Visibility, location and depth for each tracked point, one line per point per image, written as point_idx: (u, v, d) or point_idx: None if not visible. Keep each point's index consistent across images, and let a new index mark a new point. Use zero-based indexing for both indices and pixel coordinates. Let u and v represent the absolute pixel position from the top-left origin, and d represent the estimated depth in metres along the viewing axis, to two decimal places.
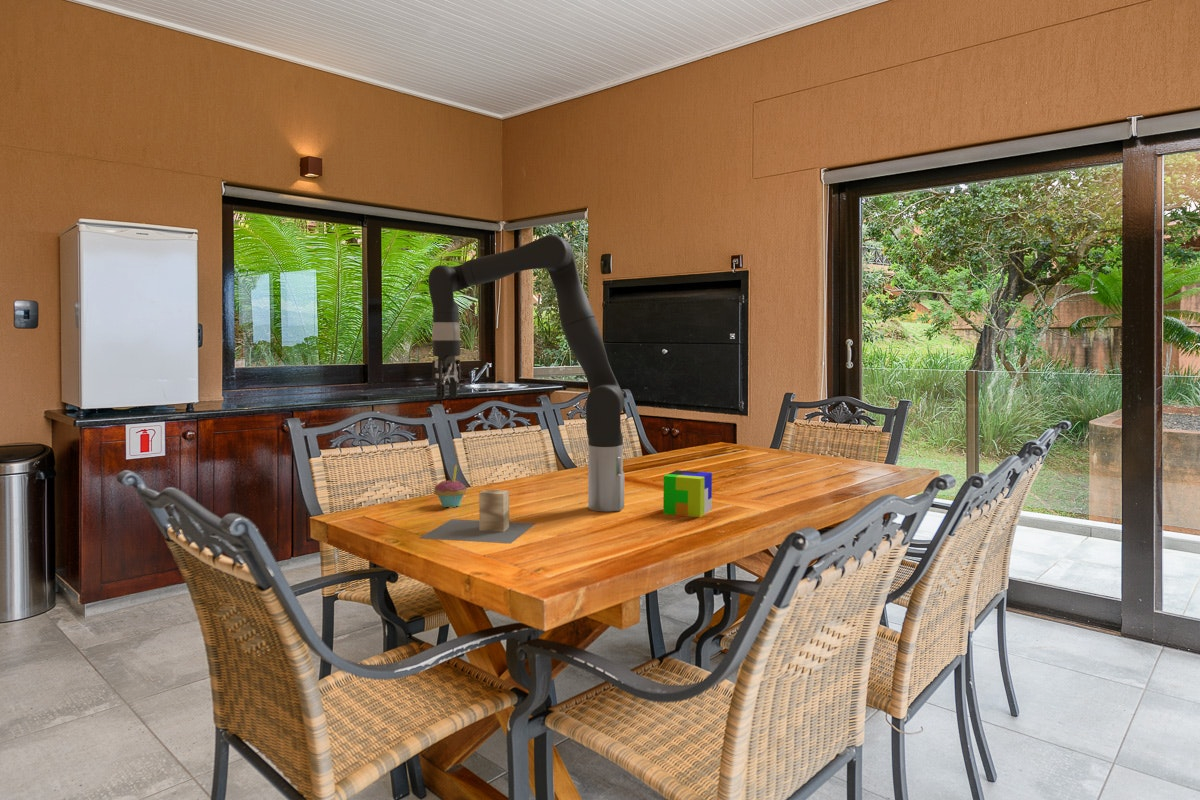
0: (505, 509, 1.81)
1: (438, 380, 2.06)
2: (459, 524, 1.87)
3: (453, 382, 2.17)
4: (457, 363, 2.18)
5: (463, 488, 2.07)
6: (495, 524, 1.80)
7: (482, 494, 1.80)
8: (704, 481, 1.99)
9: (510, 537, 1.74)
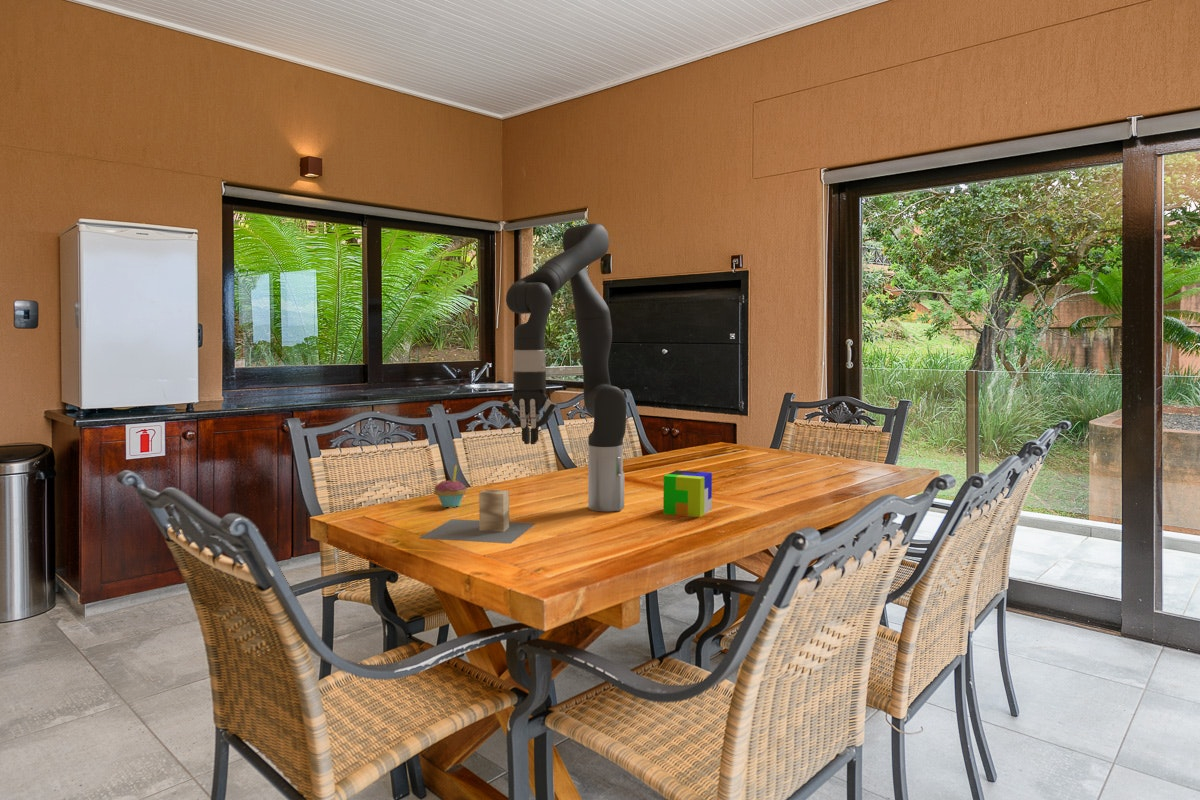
0: (505, 509, 1.81)
1: (545, 422, 1.78)
2: (459, 524, 1.87)
3: (527, 426, 1.79)
4: None
5: (463, 488, 2.07)
6: (495, 524, 1.80)
7: (482, 494, 1.80)
8: (704, 481, 1.99)
9: (510, 537, 1.74)
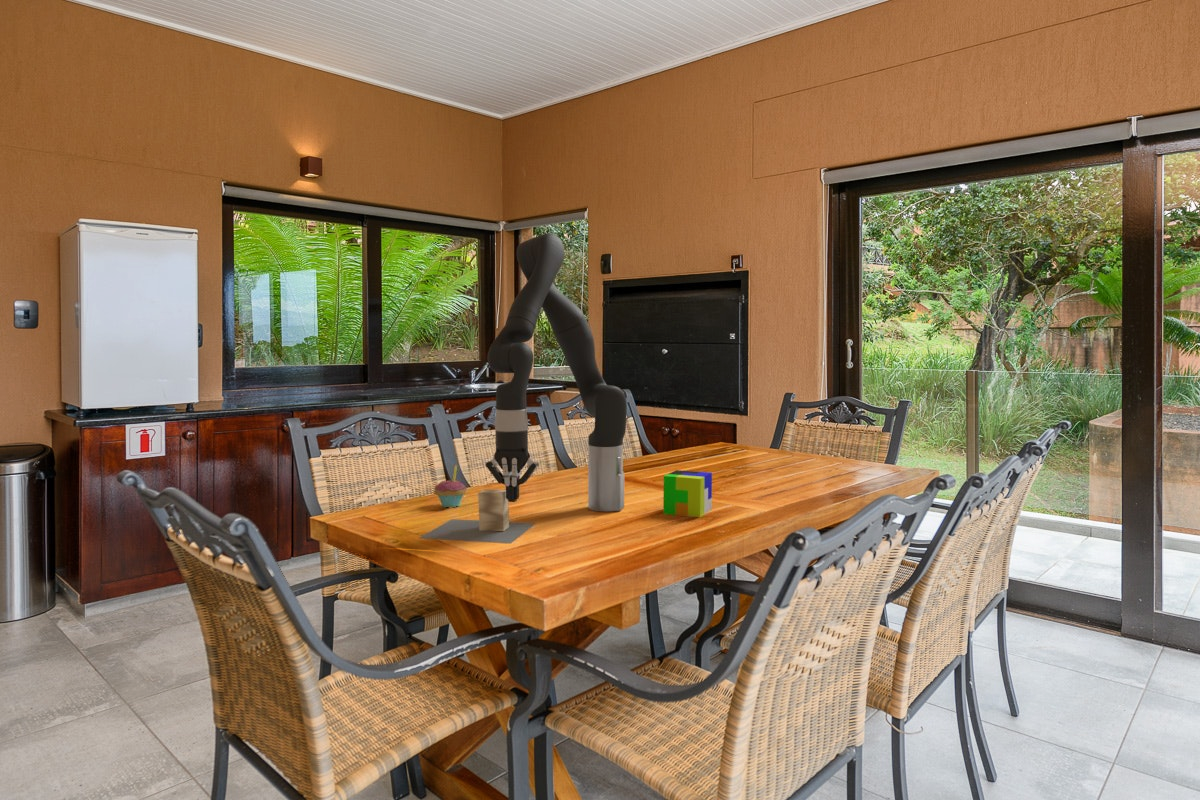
0: (504, 508, 1.81)
1: (526, 480, 1.80)
2: (459, 524, 1.87)
3: None
4: None
5: (463, 488, 2.07)
6: (495, 524, 1.80)
7: (481, 494, 1.80)
8: (704, 481, 1.99)
9: (510, 537, 1.74)
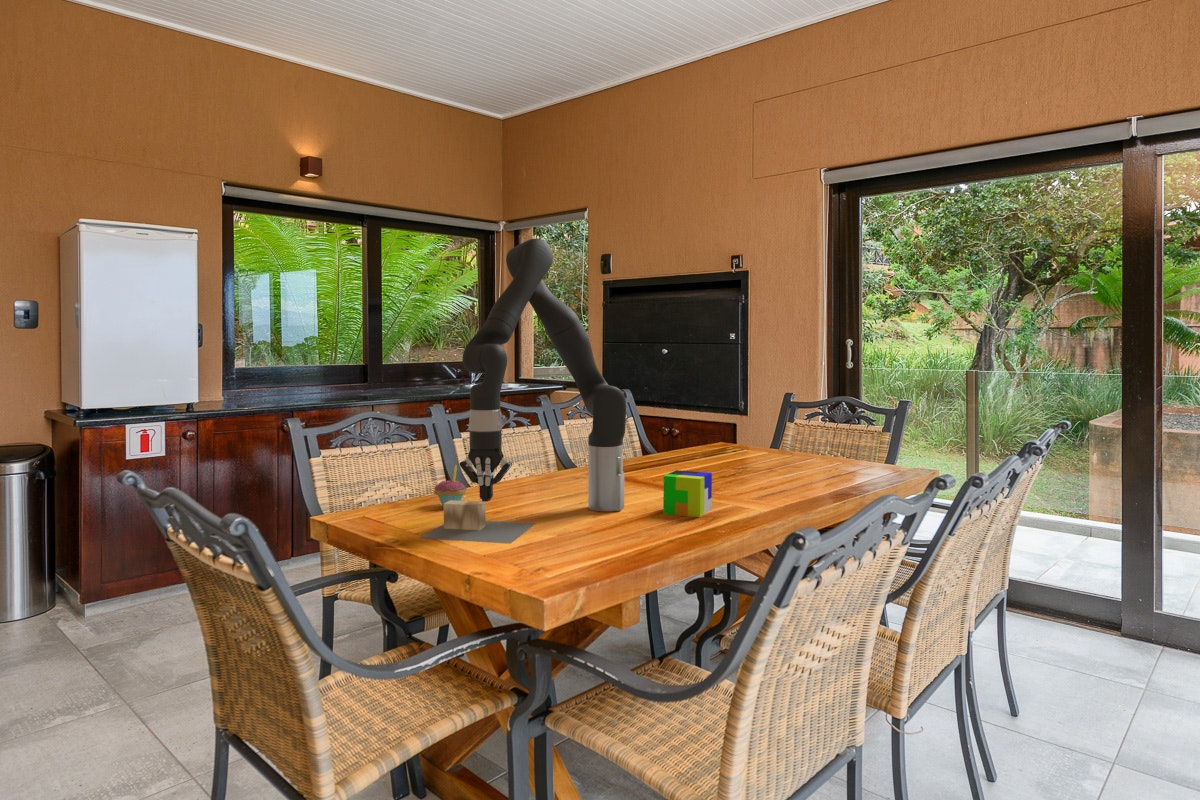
0: (461, 503, 1.83)
1: (499, 479, 1.82)
2: None
3: None
4: None
5: (463, 488, 2.07)
6: (472, 513, 1.81)
7: (445, 525, 1.83)
8: (704, 481, 1.99)
9: (510, 537, 1.74)
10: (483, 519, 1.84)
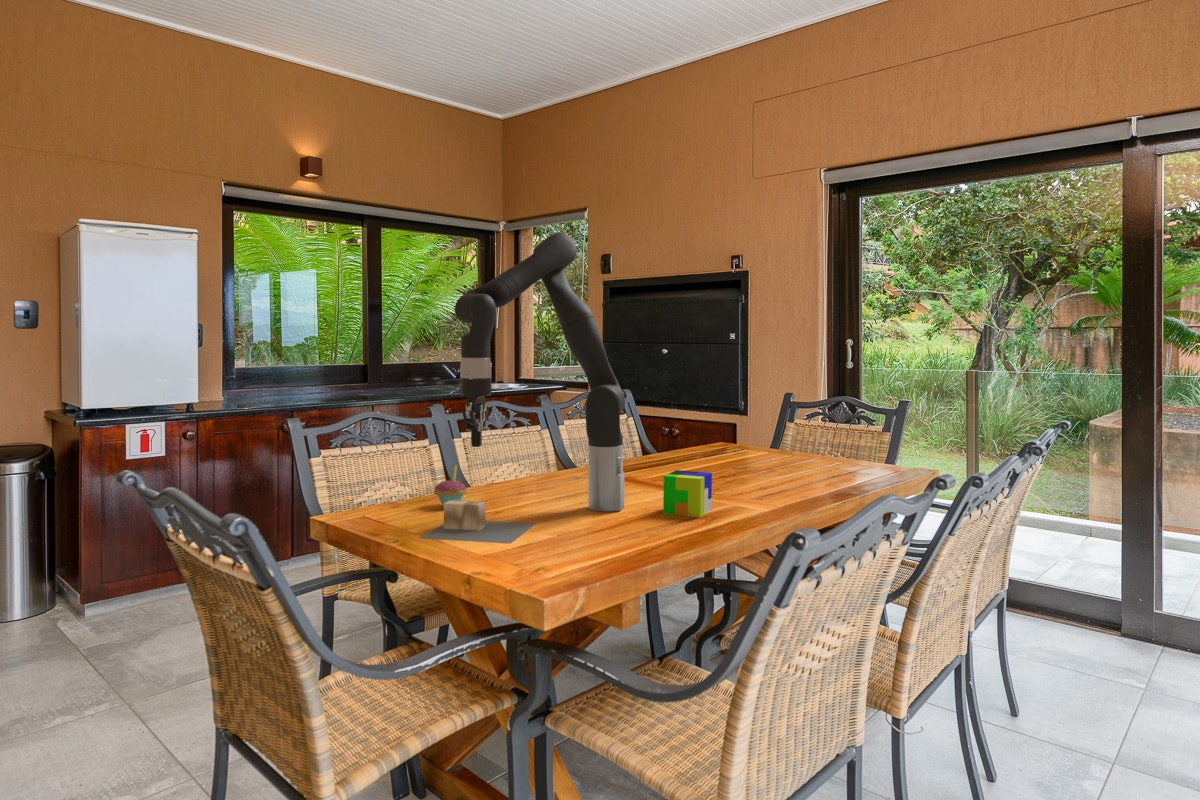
0: (461, 503, 1.83)
1: None
2: None
3: None
4: None
5: (463, 488, 2.07)
6: (472, 513, 1.81)
7: (445, 525, 1.83)
8: (704, 481, 1.99)
9: (510, 537, 1.74)
10: (483, 519, 1.84)
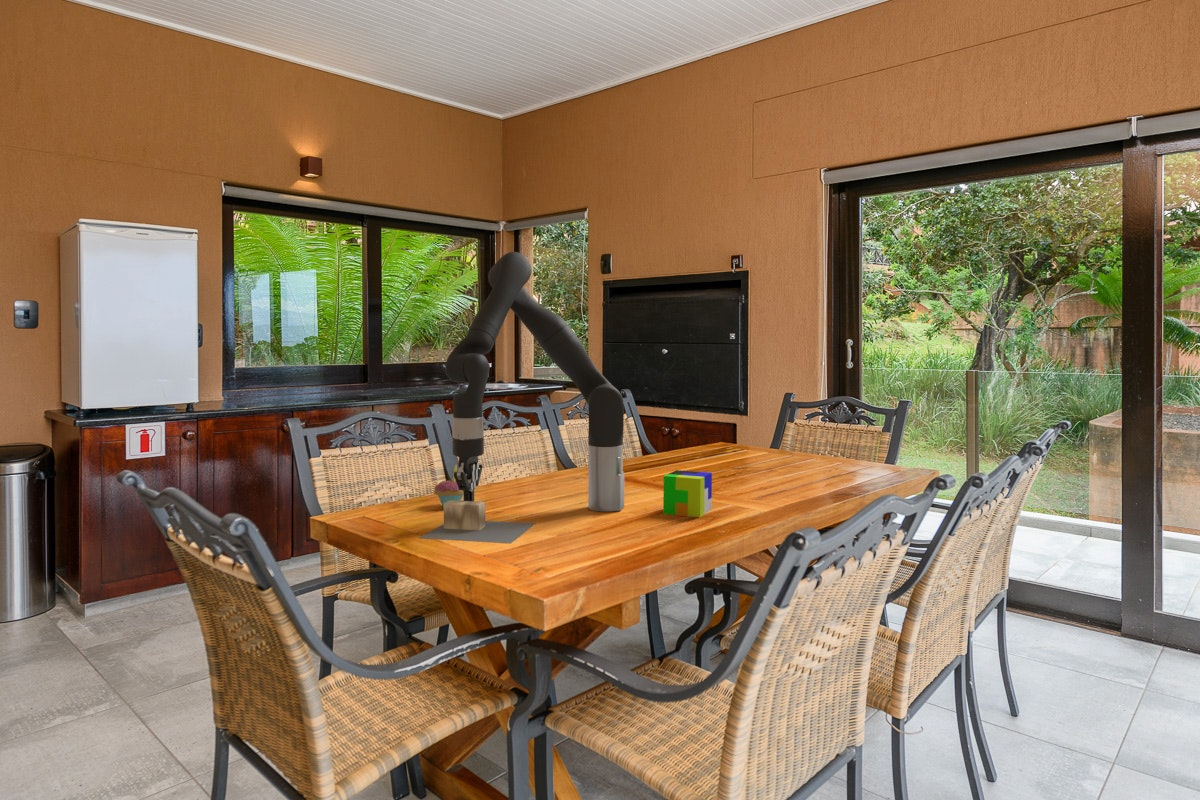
0: (461, 503, 1.83)
1: None
2: None
3: None
4: None
5: None
6: (472, 513, 1.81)
7: (445, 525, 1.83)
8: (704, 481, 1.99)
9: (510, 537, 1.74)
10: (483, 519, 1.84)
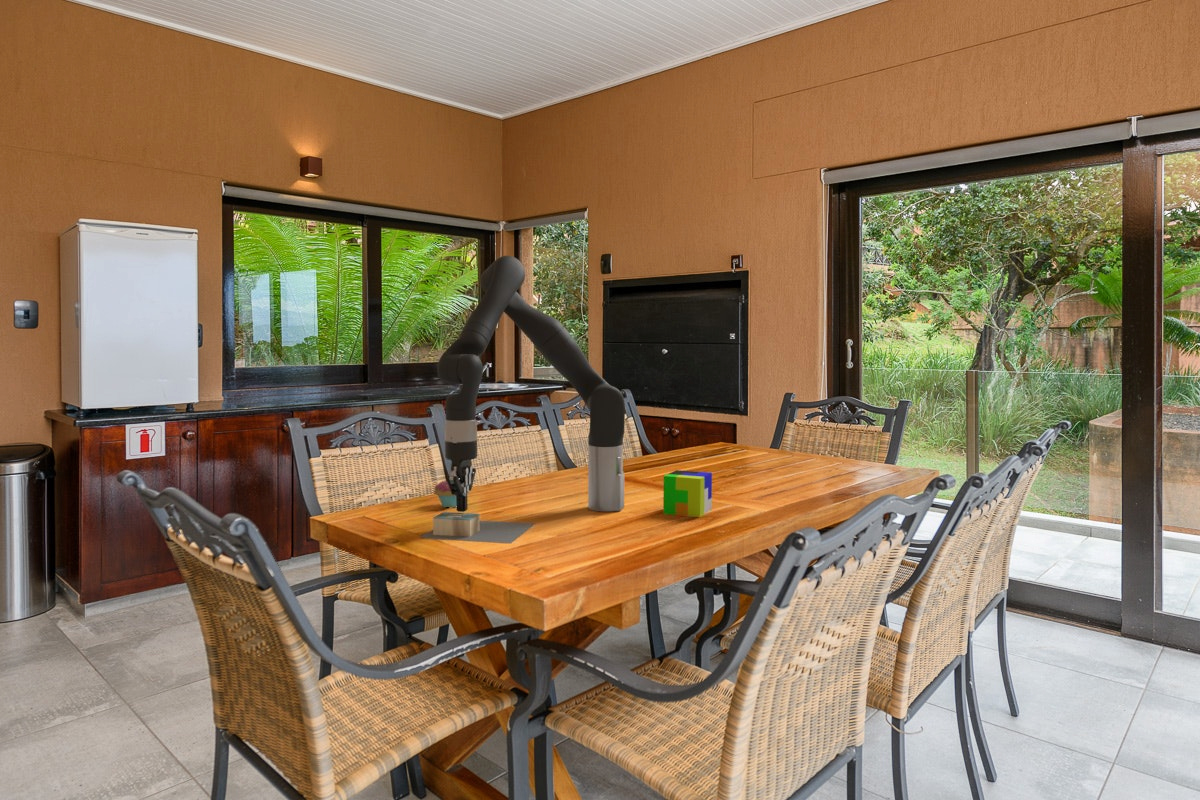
0: (449, 529, 1.76)
1: None
2: None
3: None
4: None
5: None
6: None
7: None
8: (704, 481, 1.99)
9: (510, 537, 1.74)
10: (476, 520, 1.79)
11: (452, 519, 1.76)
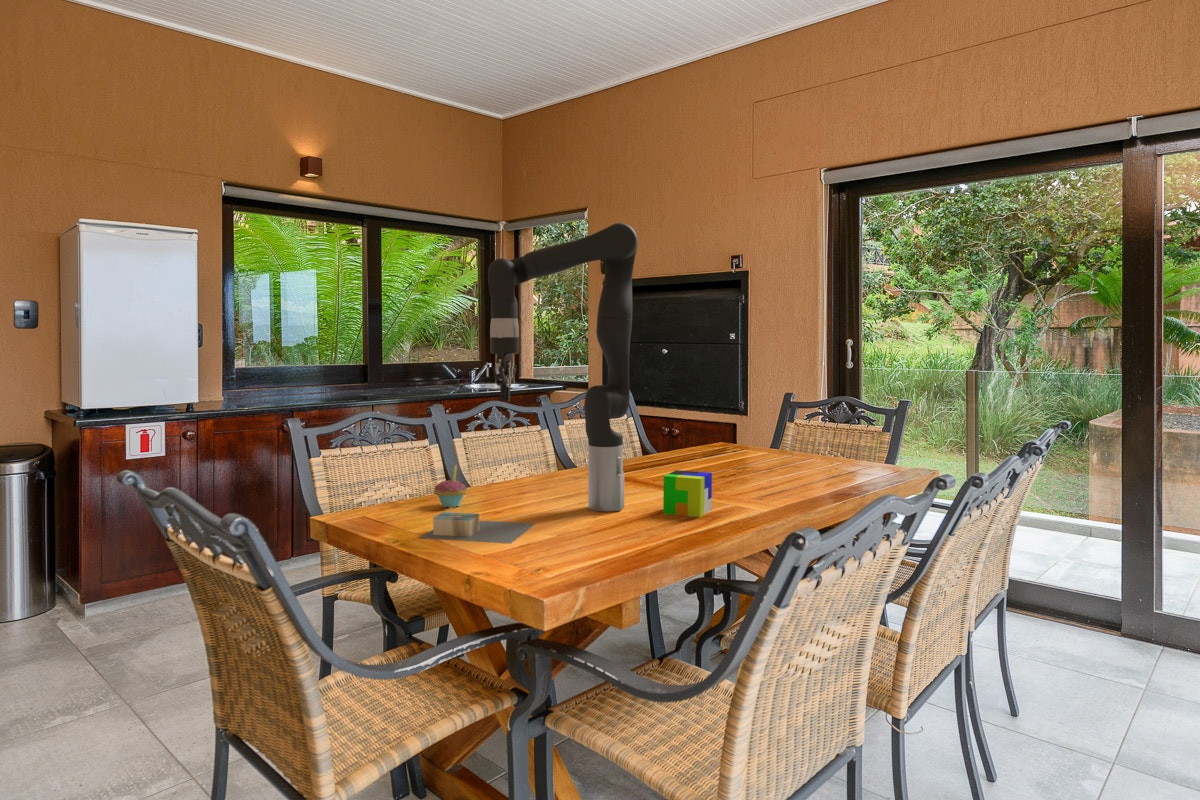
0: (449, 529, 1.76)
1: None
2: None
3: None
4: None
5: (463, 488, 2.07)
6: None
7: None
8: (704, 481, 1.99)
9: (510, 537, 1.74)
10: (476, 520, 1.79)
11: (452, 519, 1.76)
